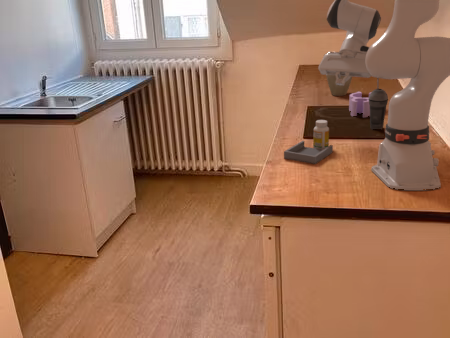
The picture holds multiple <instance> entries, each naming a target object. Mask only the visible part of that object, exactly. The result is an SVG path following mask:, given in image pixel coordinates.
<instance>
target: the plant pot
mask: <svg viewBox="0 0 450 338" xmlns="http://www.w3.org/2000/svg"><path fill="white" fill-rule="evenodd" d="M325 76H326V80H327V84H328V88H329V90H330V91H329V92H330V93H331V95H332V96H334V97H335V96H337V97H341V96H346V95H347V93H348V91H349V88H350V85H351V82H352V80H353V77H352V76H351V77H350V79H349V80H348V81H346V82H345V85H344V86H342V85H336V83H335V82H336V75H325ZM344 77H345V76H341V78H339V79H343V78H344Z"/></svg>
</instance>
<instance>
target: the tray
mask: <svg viewBox="0 0 450 338" xmlns="http://www.w3.org/2000/svg"><path fill="white" fill-rule="evenodd" d="M333 148H334V146H333V145H332V144H330V145H329V146H328V147H327V148H325V149H316V148H314V147H309V146H305V140H302V141H300V142H298V143H296V144H295V145H292V146H291V147H289V148H288V149H285V150H284V151H283V159H287V160H291V161H297V162H302V163H308V164H313V165H317V164H318V163H319V162H320V161H322V160H324V159H325V158H326V157H328V156H330V154H332V153H333V152H334V151H333Z"/></svg>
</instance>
